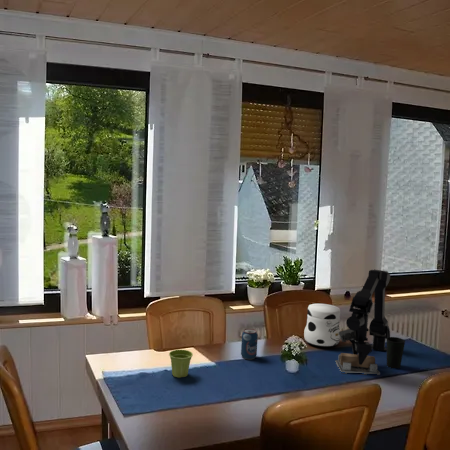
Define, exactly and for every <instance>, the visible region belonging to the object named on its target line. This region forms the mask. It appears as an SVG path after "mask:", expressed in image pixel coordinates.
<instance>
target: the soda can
mask: <svg viewBox="0 0 450 450" xmlns="http://www.w3.org/2000/svg"><path fill="white" fill-rule="evenodd" d="M258 336H259V335H258V333H257V330H256V329H253V328H244V329H243V331H242V333H241V345H240V346H241V349H240V355H241V357H242V358H243V359H244V360H250V361H251V360H255V359H256V357H257V355H258V339H259V337H258Z"/></svg>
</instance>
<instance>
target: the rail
mask: <svg viewBox="0 0 450 450" xmlns="http://www.w3.org/2000/svg"><path fill="white" fill-rule="evenodd" d="M340 355H341V358H340V364H341V365H343V362H349V363H351V366H356V367H365V368H369V366H370V364H376V356H373V355H367V357H366V358H365V360H364V362H363V363H362V365H360V364H359V359H358V354H357V355H356V354H353V353H346V352H340Z"/></svg>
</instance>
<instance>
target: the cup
mask: <svg viewBox="0 0 450 450" xmlns="http://www.w3.org/2000/svg"><path fill="white" fill-rule="evenodd" d="M385 342H386V349H387V351H386V366H388V368H389V367H391V368H390V369H392V368H399V369H401V365H402V360H403V354H404V349H405V344H406V341H405V339H403V338H401V337H397V336H396V337H395V336H390V337H388V338H387V339H386V340H385Z"/></svg>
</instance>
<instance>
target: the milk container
mask: <svg viewBox="0 0 450 450" xmlns="http://www.w3.org/2000/svg"><path fill="white" fill-rule="evenodd" d="M306 313H307V315H306V325H305V327H304V331H303V332H304V333H303V336H304V341H306V343H308V344H310V345H311V346H315V347H320V348H332V347H336V346H338V345H339V344H340V341H341V339H340V335H339V332H340V331H341V330H340V329H341V328H340V322H341V308H340V307H338V306H336V305H334V304H327V303H312V304H311V303H310V304H309V305H308V307H307V312H306Z"/></svg>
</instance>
